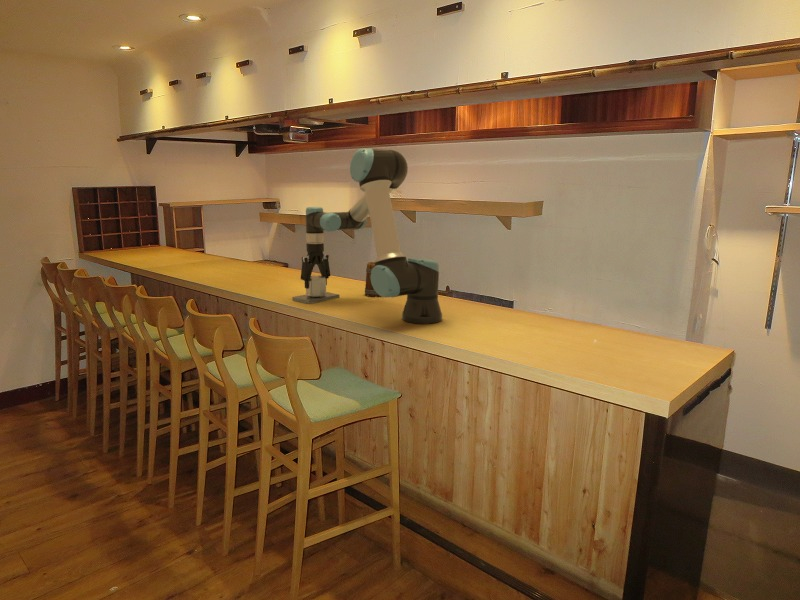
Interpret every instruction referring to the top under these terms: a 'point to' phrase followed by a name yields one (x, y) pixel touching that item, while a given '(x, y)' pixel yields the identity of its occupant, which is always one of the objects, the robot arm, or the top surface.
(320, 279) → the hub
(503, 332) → the top surface
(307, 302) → the shaft stand
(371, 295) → the mug
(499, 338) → the top surface
